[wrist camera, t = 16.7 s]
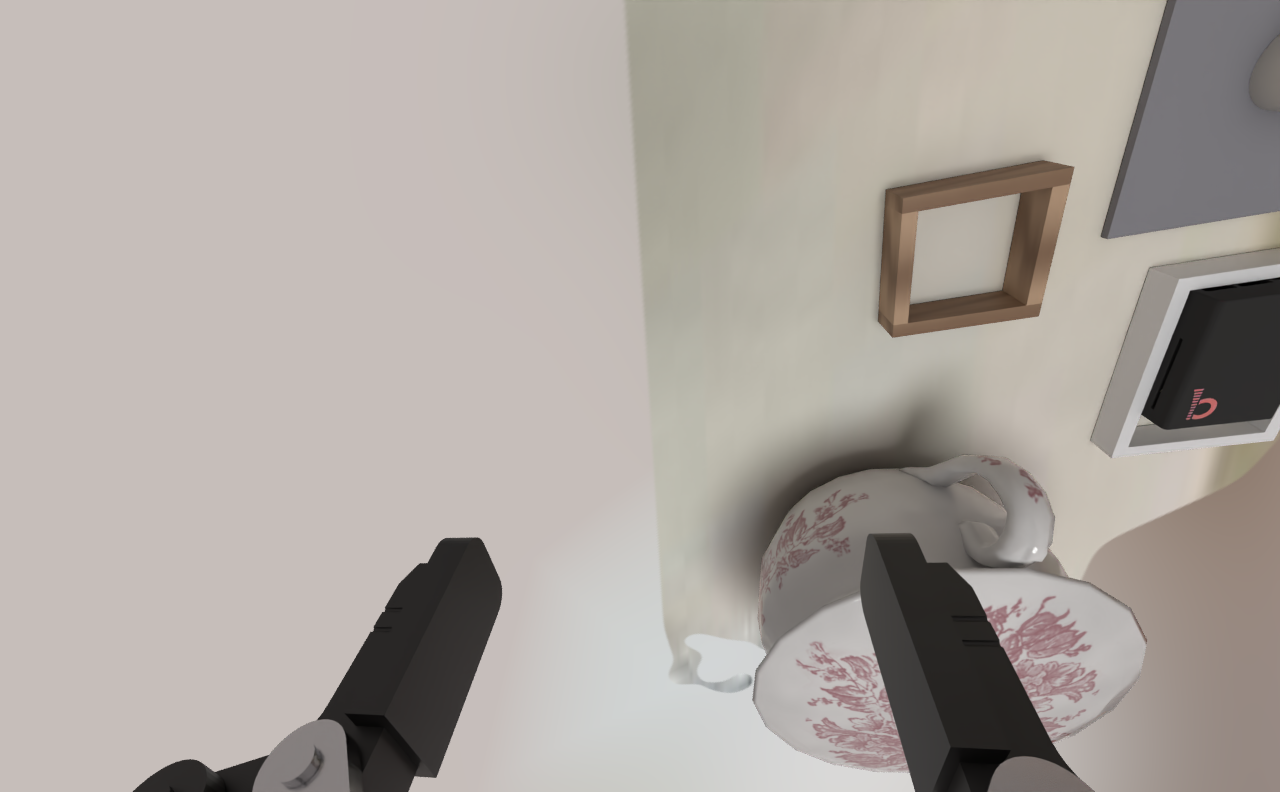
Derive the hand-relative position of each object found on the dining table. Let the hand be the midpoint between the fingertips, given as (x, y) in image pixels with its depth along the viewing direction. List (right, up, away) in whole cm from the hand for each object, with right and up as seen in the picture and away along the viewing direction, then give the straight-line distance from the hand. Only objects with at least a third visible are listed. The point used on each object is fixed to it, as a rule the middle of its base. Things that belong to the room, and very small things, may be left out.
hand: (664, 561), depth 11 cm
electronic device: (+43, +8, +29) cm, 52 cm away
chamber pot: (+23, -10, +41) cm, 48 cm away
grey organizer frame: (+44, +7, +30) cm, 54 cm away
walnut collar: (+22, +14, +26) cm, 37 cm away
